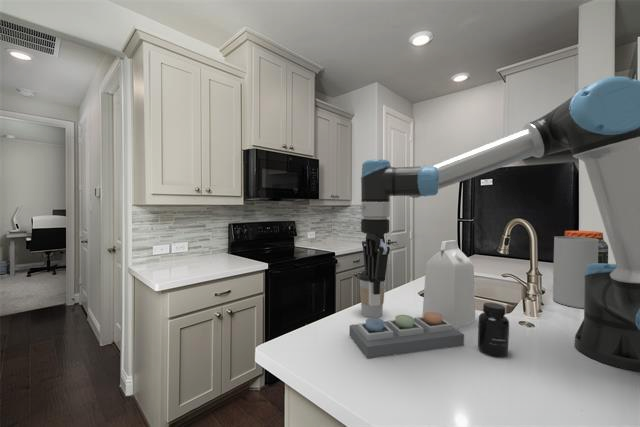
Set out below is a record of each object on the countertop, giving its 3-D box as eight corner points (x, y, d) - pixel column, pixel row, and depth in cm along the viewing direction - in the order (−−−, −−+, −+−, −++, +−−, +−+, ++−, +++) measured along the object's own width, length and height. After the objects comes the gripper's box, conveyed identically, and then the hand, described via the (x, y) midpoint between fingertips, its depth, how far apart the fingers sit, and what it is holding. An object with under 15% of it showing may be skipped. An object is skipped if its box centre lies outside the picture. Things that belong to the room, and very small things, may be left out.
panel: (463, 345, 78) (464, 328, 78) (367, 358, 71) (367, 340, 71) (433, 325, 90) (434, 311, 90) (349, 335, 84) (349, 320, 84)
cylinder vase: (549, 303, 110) (551, 238, 109) (555, 296, 119) (557, 235, 118) (594, 312, 101) (596, 241, 100) (598, 303, 109) (599, 238, 109)
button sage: (417, 326, 79) (417, 320, 79) (401, 328, 78) (401, 322, 78) (407, 319, 84) (407, 314, 84) (392, 321, 82) (392, 315, 82)
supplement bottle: (498, 360, 70) (499, 312, 70) (472, 348, 76) (472, 303, 76) (514, 354, 73) (515, 307, 73) (488, 342, 79) (488, 299, 79)
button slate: (387, 330, 77) (387, 324, 77) (370, 332, 75) (370, 326, 75) (379, 322, 81) (379, 317, 81) (362, 324, 80) (362, 318, 80)
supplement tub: (601, 288, 129) (603, 231, 128) (613, 298, 116) (614, 234, 115) (556, 283, 137) (557, 229, 137) (562, 291, 124) (563, 232, 123)
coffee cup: (385, 320, 95) (385, 275, 94) (357, 318, 96) (357, 273, 96) (384, 310, 103) (385, 268, 103) (359, 308, 105) (359, 267, 105)
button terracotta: (446, 323, 81) (446, 317, 81) (430, 325, 80) (430, 319, 80) (435, 316, 86) (435, 311, 86) (420, 318, 85) (420, 312, 84)
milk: (443, 309, 104) (444, 238, 103) (475, 320, 94) (476, 241, 93) (422, 317, 97) (423, 240, 96) (454, 329, 88) (455, 244, 87)
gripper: (353, 217, 83) (353, 298, 84) (372, 219, 70) (371, 315, 71) (377, 217, 85) (376, 296, 86) (400, 219, 72) (398, 312, 73)
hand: (374, 304), depth 78 cm, fingers closed
